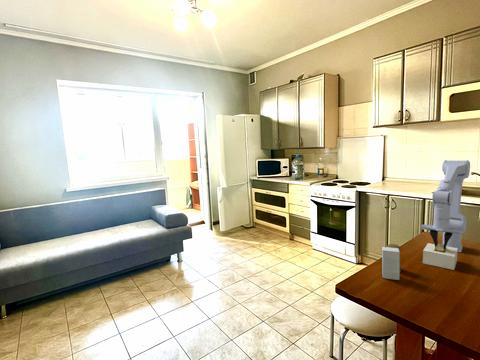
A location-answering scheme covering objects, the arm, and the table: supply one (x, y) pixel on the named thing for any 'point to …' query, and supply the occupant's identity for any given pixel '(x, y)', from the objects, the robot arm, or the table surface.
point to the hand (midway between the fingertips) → (440, 247)
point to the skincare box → (390, 263)
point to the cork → (394, 247)
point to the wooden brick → (440, 248)
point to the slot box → (440, 257)
